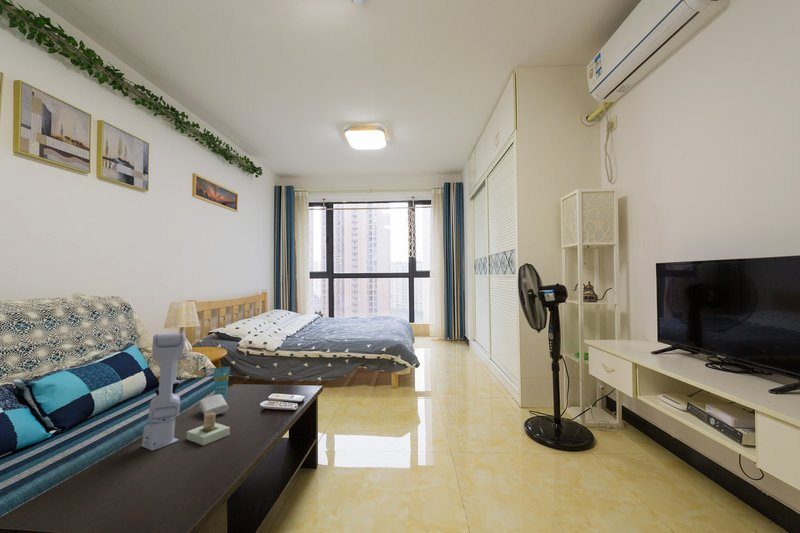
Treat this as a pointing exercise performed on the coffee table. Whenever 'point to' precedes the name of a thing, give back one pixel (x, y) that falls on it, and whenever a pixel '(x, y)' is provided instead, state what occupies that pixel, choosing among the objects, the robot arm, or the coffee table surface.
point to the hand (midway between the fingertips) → (166, 403)
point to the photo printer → (214, 404)
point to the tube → (221, 381)
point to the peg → (209, 422)
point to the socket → (208, 434)
